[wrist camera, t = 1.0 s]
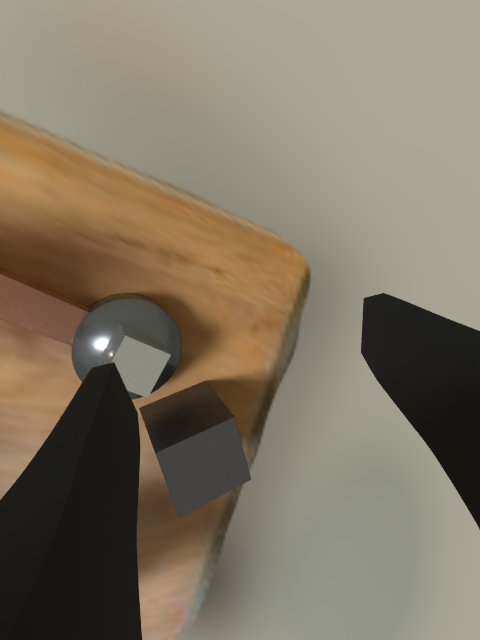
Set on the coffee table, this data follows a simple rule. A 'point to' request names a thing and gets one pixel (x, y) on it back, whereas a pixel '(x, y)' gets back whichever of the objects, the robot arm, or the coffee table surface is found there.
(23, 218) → the coffee table surface
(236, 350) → the coffee table surface
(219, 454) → the socket
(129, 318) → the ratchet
